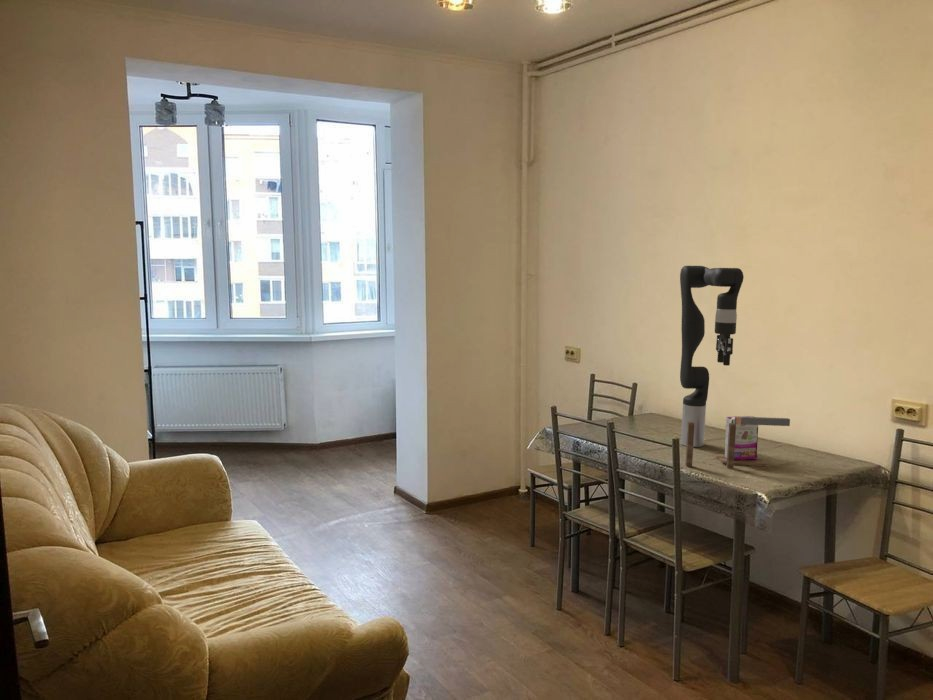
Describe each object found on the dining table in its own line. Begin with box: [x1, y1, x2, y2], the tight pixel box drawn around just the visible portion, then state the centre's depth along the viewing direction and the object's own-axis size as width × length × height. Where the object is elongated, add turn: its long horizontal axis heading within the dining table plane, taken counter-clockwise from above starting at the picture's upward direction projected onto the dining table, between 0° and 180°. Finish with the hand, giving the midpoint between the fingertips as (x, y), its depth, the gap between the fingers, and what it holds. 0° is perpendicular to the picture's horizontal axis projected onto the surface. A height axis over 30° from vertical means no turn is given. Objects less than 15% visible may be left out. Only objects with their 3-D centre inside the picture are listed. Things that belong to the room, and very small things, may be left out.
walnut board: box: [714, 453, 767, 467], centre depth 275 cm, size 12×16×1 cm
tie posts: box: [685, 422, 736, 469], centre depth 265 cm, size 2×17×17 cm, turn 85°
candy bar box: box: [724, 415, 759, 461], centre depth 274 cm, size 11×5×16 cm, turn 99°
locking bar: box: [734, 415, 791, 427], centre depth 263 cm, size 2×19×3 cm, turn 85°
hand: (723, 363), depth 269 cm, fingers open, 8 cm apart
